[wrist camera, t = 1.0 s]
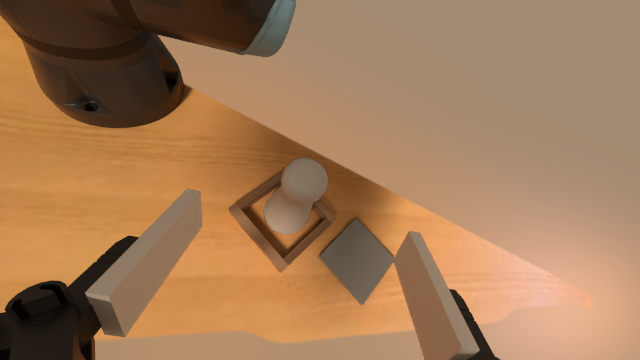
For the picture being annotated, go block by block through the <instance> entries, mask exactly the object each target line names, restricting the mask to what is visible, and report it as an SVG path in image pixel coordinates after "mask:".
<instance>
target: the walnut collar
mask: <svg viewBox="0 0 640 360" xmlns="http://www.w3.org/2000/svg"><path fill="white" fill-rule="evenodd" d="M282 175H283V171H282V172H281V173H279V174H278V175H276V176H275V177H273V178H272V179H270V180H269V181H267V182H266V183H265V184H263V185H262V186H260V187H259V188H257V189H256V190H254V191H253V192H251V193H250V194H248V195H247V196H246V197H244V198H243V199H241V200H240V201H238V202H237V203H235V204H234V205H232V206H231V207H229V212H230V213H231V215H232V216H233V217H234V218H235V219H236V221H237V222H238V223H239V224H240V225H241V227H242V228H243V229H244V230H245V231H246V233H247V234H248V235H249V236H250V237H251V238H252V240H253V241H254V242H255V243H256V244H257V246H258V247H259V248H260V249H261V250H262V252H263V253H264V254H265V255H266V256H267V258H268V259H269V260H270V261H271V262H272V264H273V265H274V266H275V267H276V268H277V270H278V271H279V272H282V271H283V270H284V269H285V268H286V267H287V266H288V265H289V264H290V263H291V262H292V261H293V260H294V259H295V258H296V257H298V256H299V255H300V254H301V253H302V252H303V251H304V250H305V249H306V248H307V247H308V246H309V245H310V244H311V243H312V242H313V241H314V240H315V239H316V238H317V237H318V236H319V235H320V234H321V233H322V232H323V231H324V230H325V229H326V228H327V227H328V226H329V225H330V224H331V223H332V222H333V221H334V220H335V219H336V217H335V216H334V215H333V214H332V213H331V212H330V211H329V210H328V208H327V207H326V206H325V205H324V204H323V203H322V202H321V201H320V200H318V201H315V202H313V206H312V208H313V209H314V210H315V212H316V213H317V214H318V215H319V216H320V217H321V218H322V219H323V220H324V221H322V222H321V223H320V224H319V225H318V226H317V227H316V228H315V229H314V230H313V231H312V232H311V233H310V234H309V235H308V236H306V237H305V238H304V239H303V240H302V241H301V242H300V243H299V244H298V245H297V246H296V247H295V248H294V249H293V250H292V251H291V252H289V253H288V254H287V255H286V256H285V257H284V258H282V257H281V256H280V255H279V254H278V252H277V251H276V250H275V249H274V248H273V247H272V245H271V244H270V243H269V242H268V241H267V239H266V238H265V237H264V236H263V235H262V234H261V232H260V231H259V230H258V229H257V228H256V227H255V225H254V224H253V223H252V222H251V221H250V219H249V218H248V217H247V216H246V215H245V214H244V212H243V211H244V210H245V209H247V208H248V207H250V206H251V205H252V204H254V203H255V202H257V201H258V200H259V199H261V198H262V197H264V196H265V195H266V194H268V193H269V192H270V191H272V190H273V189H275V188H276V187H277V186H279V185H280V184H281V179H282Z"/></svg>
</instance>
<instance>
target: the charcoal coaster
mask: <svg viewBox="0 0 640 360" xmlns="http://www.w3.org/2000/svg"><path fill="white" fill-rule="evenodd" d="M319 257H320V258H321V260H322V261H323V262H324V263H325V264H326V265H327V266H328V268H329V269H330V270H331V271H332V272H333V273H334V274H335V276H336V277H337V278H338V279H339V280H340V281H341V282H342V284H343V285H344V286H345V287H346V288H347V289H348V290H349V292H350V293H351V294H352V295H353V296H354V297H355V298H356V300H357V301H358V302H359V303H360V304H362V305H363V304H364V302H365V301H366V300H367V298H368V297H369V295H370V294H371V293H372V291H373V290H374V288H375V287H376V286H377V284H378V283H379V281H380V280H381V279H382V277H383V276H384V274H385V273H386V271H387V270H388V269H389V267H390V266H391V264H392V263H393V262H394V261H393V259H394V258H393V256H392V255H391V254H390V253H389V252H388V251H387V250H386V249H385V248H384V247H383V246H382V245H381V244H380V242H379V241H378V240H377V239H376V238H375V237H374V236H373V235H372V234H371V233H370V232H369V231H368V229H367V228H366V227H365V226H364V225H363V224H362V223H361V222H360V221H359V220H358V219H357V218H355V219H354V220H353V221H352V222H351V223H350V224H349V225H348V226H347V227H346V228H345V229H344V231H343V232H342V233H341V234H340V235H339V236H338V237H337V238H336V239H335V240H334V241H333V242H332V243H331V244H330V245H329V246H328V247H327V248H326V249H325V250H324V251H323V252H322V253H321V255H320V256H319Z"/></svg>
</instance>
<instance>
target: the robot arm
mask: <svg viewBox="0 0 640 360" xmlns="http://www.w3.org/2000/svg"><path fill="white" fill-rule="evenodd" d="M295 6H296V0H0V15H1V16H2V17H3V19H4V20H5V21H6V22H7V23H8V24H9V25H10V26H11V28H12V29H13V30H14V31H15V32H16V34H17V35H18V36H19V37H20V38H21V40H22V41H23V44H24V46H25V49H26V52H27V55H28V57H29V60H30V63H31V65H32V68H33V71H34V74H35V76H36V79H37V82H38V84H39V86H40V88H41V89H42V91H43V92H44V93H45V95H46V96H47V97H48V98H49V99H50V100H51V101H52V102H53V103H54V104H55V105H56V106H57V107H58V108H59V109H60V110H61V111H62V112H64V113H65V114H66V115H68V116H70V117H72V118H74V119H76V120H78V121H80V122H83V123H86V124H90V125H94V126H100V127H108V128H126V127H135V126H140V125H144V124H147V123H151V122H153V121H156V120H158V119H160V118H162V117H164V116H165V115H167V114H168V113H170V112H171V111H172V110H173V109H174V108H175V107H176V106H177V105H178V104H179V102H180V100H181V98H182V96H183V92H184V84H183V79H182V76H181V72H180V69H179V67H178V64H177V63H176V61H175V59H174V58H173V57H172V55H171V54H170V52H169V51H168V50H167V48H166V47H165V45H164V44H163V42H162V41H161V40H160V38H159V37H158V36H157V35H162V36H166V37H170V38H174V39H179V40H183V41H187V42H192V43H195V44H200V45H204V46H208V47H212V48H216V49H221V50H225V51H229V52H234V53H237V54H240V55H245V54H249V55H255V56H262V57H269V56H272V55H274V54H275V53H276V52H277V51H278V50H279V49H280V47H281V46H282V44H283V42H284V40H285V38H286V35H287V33H288V30H289V27H290V24H291V21H292V17H293V14H294V10H295ZM201 227H202V210H201V191H196V190H191V189H187V190H186V191H185V192H184V193H183V194H182V195H181V196H180V197H179V198H178V199H177V200H176V201H175V202H174V203H173V204H172V205H171V206H170V207H169V208H168V209H167V210H166V211H165V212H164V213H163V214H162V215H161V216H160V217H159V218H158V219H157V220H156V221H155V222H154V223H153V224H152V225H151V226H150V227H149V228H148V229H147V230H146V231H145V232H144V233H143V234H142V235H141V236H140V237H134V236H127V237H125V238H124V239H122V240H120V241H118V242H116V243H115V244H114V245H113V246H112V247H111V248H109V249H108V250H107V251H106V252H105V254H103V255H102V256H101V257H100V258H99V259H98V260H97V262H94V263H93V264H92V265H91V266H90V267H89V268H88V269H87V270H86V271H85V272H84V273H82V274H81V275H80V276H79V277H78V278H77V279H76V280H75V281H74V282H73V283H72V284H71V285H69V286H68V287H67V285H66V284H65V283H63V282H61V281H47V282H42V283H39V284H36V285H33V286H31V287H28V288H27V289H25V290H23V291H22V292H20V293H18V294H17V295H16V296H15V297H14V298H13V299H11V300H10V301H9V302H8V304H7V306H6V308H5V311H6V312H4V313H0V360H95V340H94V337H93V336H94V335H95V334H96V333H97V331H98V330H99V329H100V328H102V330H103V332H104V334H105V335H113V336H121V337H125V336H126V335H127V333H128V332H129V331H130V329H131V328H132V326H133V325H134V323H135V322H136V321H137V319H138V318H139V316H140V315H141V313H142V312H143V310H144V309H145V308H146V306H147V305H148V303H149V302H150V300H151V299H152V298H153V296H154V295H155V293H156V292H157V290H158V289H159V287H160V286H161V285H162V283H163V282H164V280H165V279H166V277H167V276H168V275H169V273H170V272H171V270H172V269H173V267H174V266H175V265H176V263H177V262H178V260H179V259H180V257H181V256H182V254H183V253H184V252H185V250H186V249H187V247H188V246H189V244H190V243H191V242H192V240H193V239H194V237H195V236H196V234H197V233H198V231H199V230H200V229H201ZM393 261H394V264H395V267H396V270H397V273H398V277H399V280H400V283H401V286H402V289H403V292H404V295H405V299H406V302H407V305H408V308H409V311H410V314H411V318H412V321H413V324H414V327H415V330H416V333H417V336H418V339H419V343H420V346H421V349H422V352H423V356H424V359H425V360H500V359H498V358H497V357H495V356H494V354H493V353H492V351H491V349H490V347H489V345H488V343H487V342H486V340H485V338H484V336H483V334H482V332H481V331H480V329H479V327H478V325H477V323H476V321H474V318H473V316H472V314H471V312H469V309H468V307H467V305H466V303H465V301H464V300H463V298H462V297H461V296H460V295H459V294H458V293H457V292H456V290H452V289H449V288H448V286H447V284H446V283H445V281H444V279H443V277H442V275H441V273H440V271H439V269H438V267H437V265H436V263H435V261H434V259H433V257H432V255H431V253H430V251H429V249H428V247H427V245H426V243H425V241H424V239H423V237H422V235H421V233H418V232H413V231H409V232H408V234H407V236H406V237H405V239H404V241H403V243H402V245H401V246H400V248H399V250H398V252H397V254H396V256H395V257H394V259H393Z"/></svg>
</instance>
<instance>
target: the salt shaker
mask: <svg viewBox="0 0 640 360" xmlns="http://www.w3.org/2000/svg"><path fill="white" fill-rule="evenodd" d="M327 186H328V176H327V173H326V170H325V169H324V168H323V167H322V165H321V164H320V163H318V162H317V161H315V160H313V159H311V158H298V159H295V160H292V161H291V162H290V163H289V165H288V166H287V167H286V168H285V169H284V171H283V175H282V179H281V186H280V187H279V188H278V189H277V190H276V191H275V192H274V193H273V194H272V195H271V197H270V198H269V199H268V200H267V201H266V204H265V208H264V215H265V219H266V222H267V224H268V225H269V226H270V227H271V229H272V230H274V231H276V232H278V233H280V234H294V233H296V232H297V231H299V230H301V229H303V227H304V226H305V225H306V223H307V222H308V220H309V216H310V213H311V209H312V206H313V202H315V201H318V200H319V199H320V198H321V197H322V195H323V194H324V193H325V191H326V190H327Z"/></svg>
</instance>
